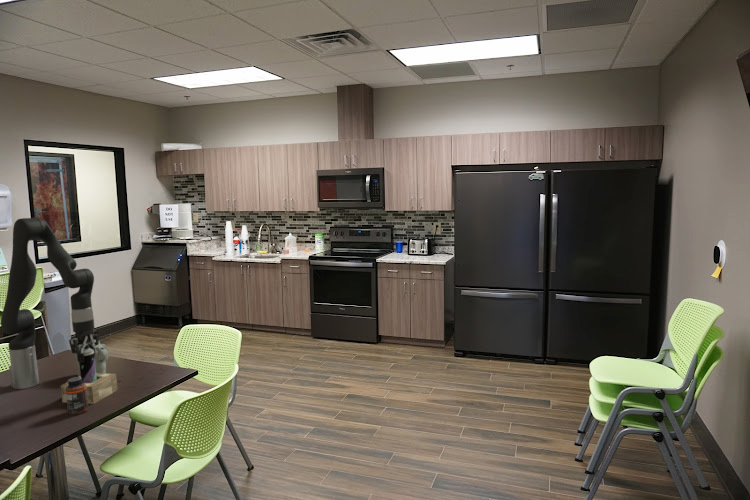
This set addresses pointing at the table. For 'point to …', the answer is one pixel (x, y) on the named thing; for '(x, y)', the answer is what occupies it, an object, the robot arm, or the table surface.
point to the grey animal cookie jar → (98, 358)
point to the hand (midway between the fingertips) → (86, 359)
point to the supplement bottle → (76, 396)
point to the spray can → (88, 366)
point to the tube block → (96, 388)
